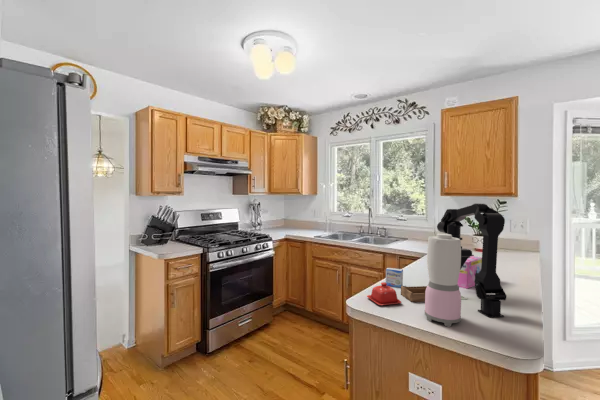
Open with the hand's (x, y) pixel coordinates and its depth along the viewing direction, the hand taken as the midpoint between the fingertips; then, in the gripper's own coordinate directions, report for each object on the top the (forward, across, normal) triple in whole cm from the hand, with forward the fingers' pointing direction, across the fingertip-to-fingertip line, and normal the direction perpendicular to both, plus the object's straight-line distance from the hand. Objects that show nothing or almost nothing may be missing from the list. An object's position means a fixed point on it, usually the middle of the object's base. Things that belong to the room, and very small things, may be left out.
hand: (452, 267), depth 141 cm
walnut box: (+12, +6, -20) cm, 24 cm away
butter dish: (+12, +9, -38) cm, 41 cm away
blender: (+12, +28, -23) cm, 38 cm away
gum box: (+12, -13, +19) cm, 26 cm away
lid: (+12, +6, -6) cm, 15 cm away
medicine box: (+12, -12, -24) cm, 30 cm away
